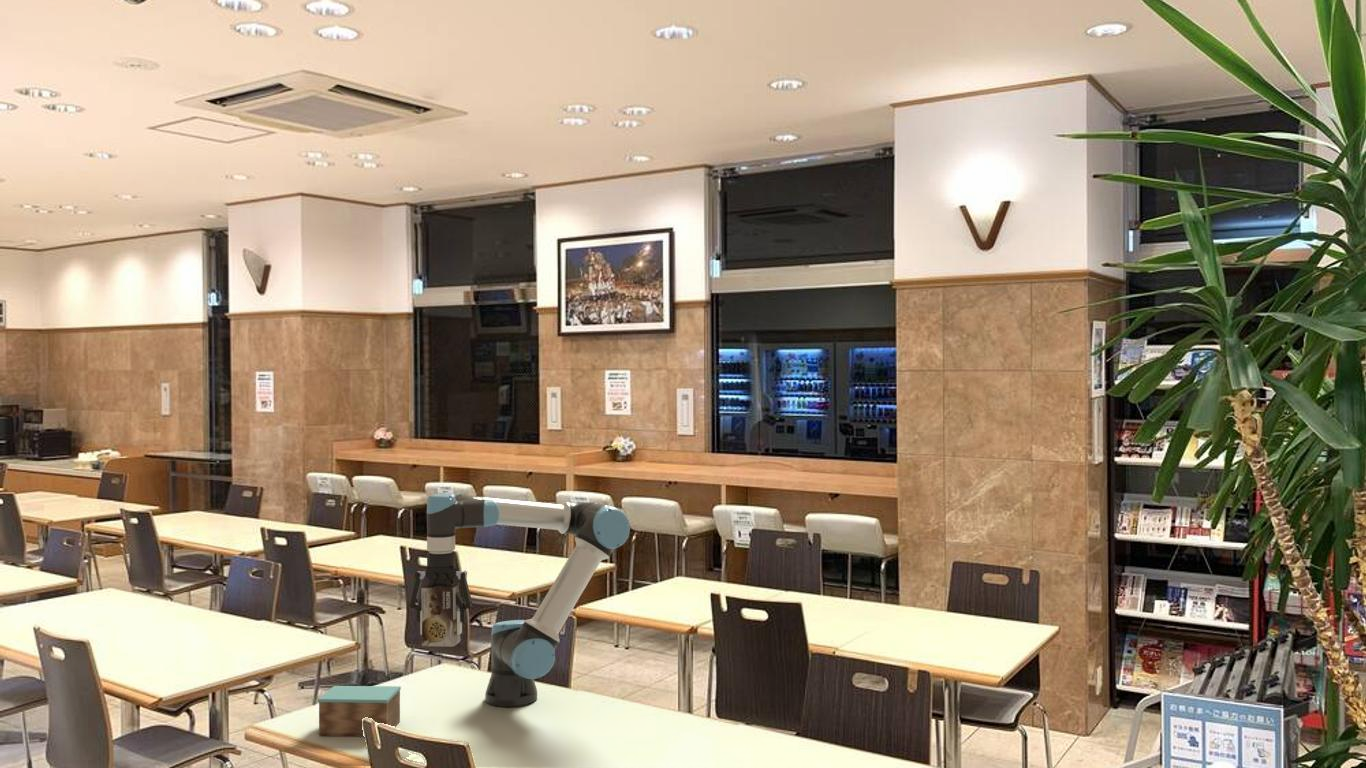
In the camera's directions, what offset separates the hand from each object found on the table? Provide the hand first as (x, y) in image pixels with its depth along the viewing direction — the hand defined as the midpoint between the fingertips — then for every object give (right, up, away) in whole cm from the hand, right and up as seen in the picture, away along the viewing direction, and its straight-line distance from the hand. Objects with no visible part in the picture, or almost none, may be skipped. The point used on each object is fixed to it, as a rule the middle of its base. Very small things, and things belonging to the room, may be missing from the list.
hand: (441, 633), depth 286 cm
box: (-21, -25, -2) cm, 33 cm away
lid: (-21, -16, -3) cm, 27 cm away
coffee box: (0, -3, 0) cm, 3 cm away
